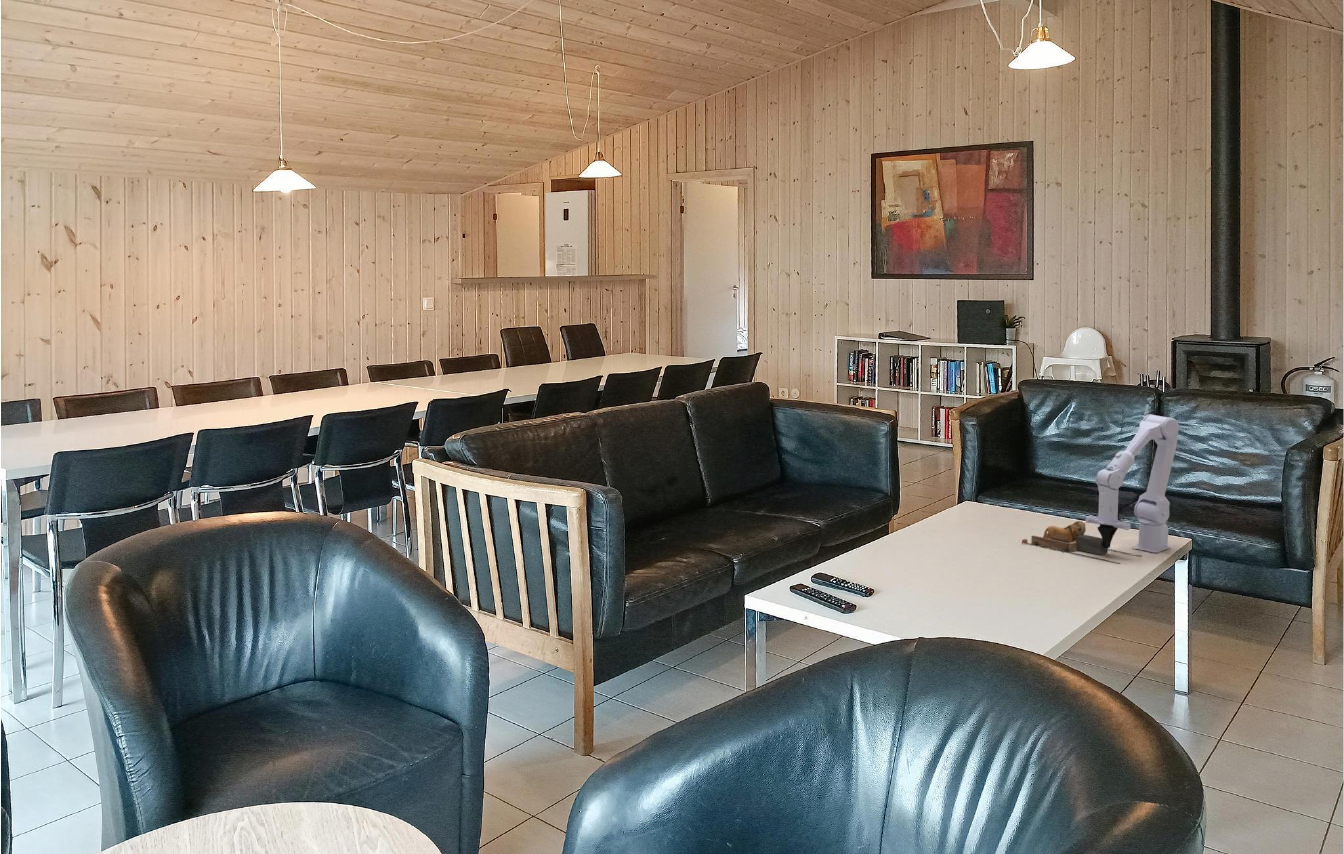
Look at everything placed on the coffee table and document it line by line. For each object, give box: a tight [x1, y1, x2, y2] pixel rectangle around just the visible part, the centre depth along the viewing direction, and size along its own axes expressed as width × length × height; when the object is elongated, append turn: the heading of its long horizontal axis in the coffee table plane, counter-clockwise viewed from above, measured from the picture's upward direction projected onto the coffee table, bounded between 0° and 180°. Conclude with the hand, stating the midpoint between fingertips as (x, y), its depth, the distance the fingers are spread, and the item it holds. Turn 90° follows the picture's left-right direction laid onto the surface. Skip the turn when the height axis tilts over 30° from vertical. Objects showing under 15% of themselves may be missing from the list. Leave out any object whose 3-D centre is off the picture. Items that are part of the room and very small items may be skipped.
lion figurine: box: [1042, 520, 1087, 543], centre depth 353 cm, size 15×5×9 cm, turn 70°
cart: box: [1031, 533, 1109, 555], centre depth 351 cm, size 13×23×4 cm, turn 37°
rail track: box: [1021, 532, 1142, 565], centre depth 349 cm, size 14×35×1 cm, turn 37°
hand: (1106, 547), depth 341 cm, fingers closed
